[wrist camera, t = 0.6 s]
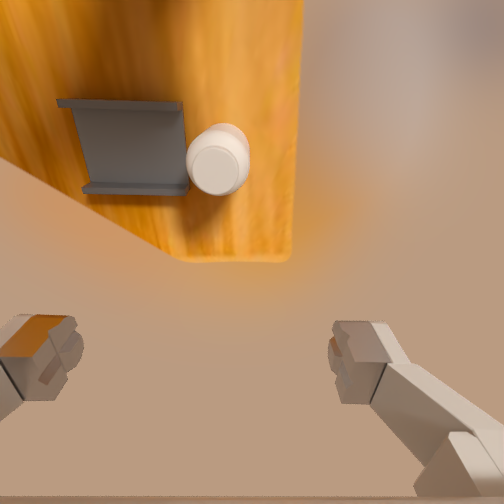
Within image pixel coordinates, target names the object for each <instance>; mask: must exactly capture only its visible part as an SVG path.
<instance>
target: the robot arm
mask: <svg viewBox="0 0 504 504" xmlns="http://www.w3.org/2000/svg"><path fill="white" fill-rule="evenodd" d="M76 327H77V323H76V321H75V318H74V317H72V316H63V315H40V314H39V315H38V314H37V315H31V314H19V315H17V316H14V317H13V318H12V319H11V320H9V321H8V322H7V323H6V324H5V325H4V326H3V327H2V328H1V329H0V421H1V420H3V419H4V418H5V417H6V416H7V415H9V414H10V413H11V412H12V411H14V410H15V409H16V408H18V407H19V406H20V405H21V404H22V403H23V401H49V400H50V401H51V400H52V401H53V400H55V399H56V397H57V396H58V394H59V393H60V391H61V389H62V388H63V386H64V384H65V383H66V382H67V380H68V378H67V372H69V371H70V370H72V369H73V368H75V367H76V366H77V364H78V362H79V361H80V359H81V356H82V353H83V349H84V345H83V339H82V336H81V335H80V334H79V333H77V332H76V331H75V328H76ZM332 331H333V334H334V337H332V338H331V339H330V340H329V346H328V359H329V364H330V367H331V370H332V371H333V372H334V373H335V374H336V375H337V378H336V381H335V384H336V387H337V390H338V394H339V397H340V400H341V403H343V404H369V405H370V407H371V408H372V409H373V410H374V411H375V412H376V413H377V415H378V416H379V417H380V418H381V419H382V420H383V421H384V422H385V423H386V424H387V426H388V427H389V428H390V429H391V430H392V431H393V432H394V433H395V435H396V436H397V437H398V438H399V439H400V440H401V441H402V442H403V443H404V445H405V446H406V447H407V448H408V449H409V450H410V451H411V452H412V453H413V455H414V456H415V457H416V458H417V459H418V460H419V461H420V462H421V463H422V465H423V466H425V468H424V469H423V471H422V472H421V474H420V475H419V477H418V478H417V479H416V481H415V483H414V486H413V487H414V489H415V491H416V494H417V496H418V497H219V496H218V497H217V496H216V497H211V496H210V497H209V496H207V497H206V496H201V497H200V496H199V497H198V496H196V497H195V496H193V497H192V496H191V497H190V496H187V497H186V496H185V497H184V496H180V497H175V496H169V497H168V496H167V497H166V496H165V497H163V496H161V497H160V496H151V497H150V496H143V497H142V496H138V497H137V496H127V497H126V496H120V497H119V496H116V497H115V496H101V497H100V496H0V504H504V426H503V425H502V424H501V423H499V422H498V421H497V420H495V419H494V418H492V417H491V416H489V415H488V414H487V413H485V412H484V411H482V410H481V409H480V408H478V407H477V406H475V405H474V404H472V403H471V402H470V401H468V400H467V399H465V398H464V397H463V396H461V395H460V394H458V393H457V392H455V391H454V390H453V389H451V388H450V387H448V386H447V385H446V384H444V383H443V382H441V381H440V380H439V379H437V378H436V377H434V376H433V375H431V374H430V373H429V372H427V371H426V370H424V369H423V368H422V367H420V366H419V365H417V364H411V362H410V361H409V359H408V357H407V356H406V354H405V353H404V351H403V349H402V348H401V346H400V344H399V343H398V341H397V339H396V338H395V336H394V335H393V333H392V331H391V330H390V328H389V327H388V325H387V324H386V323H385V322H384V321H335V323H334V324H333V329H332Z"/></svg>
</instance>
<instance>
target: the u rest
mask: <svg viewBox="0 0 504 504" xmlns="http://www.w3.org/2000/svg"><path fill="white" fill-rule="evenodd" d="M56 100H57V104H58V107H59V108H71V109H72V113H73V117H74V121H75V124H76V128H77V132H78V136H79V139H80V143H81V147H82V151H83V154H84V158H85V162H86V166H87V170H88V173H89V177H90V181H91V182H90V183H88V184H86V185H85V186H83V187H81V188H82V192H83V194H120V195H167V196H186V195H187V193H188V191H189V190H190V185H189V174H188V172H187V168H186V155H187V150H186V139H185V127H184V116H183V104H182V102H172V101H138V100H104V99H56Z"/></svg>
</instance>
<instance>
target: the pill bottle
mask: <svg viewBox="0 0 504 504" xmlns="http://www.w3.org/2000/svg"><path fill="white" fill-rule="evenodd" d="M249 167H250V148H249V143H248V140H247V138H246V136H245V135H244V134H243V132H242V131H241V130H240V129H238V128H237V127H235V126H233V125H231V124H227V123H219V124H215V125H213V126H211V127H209V128H208V129H206V130H205V131H204V132H203V133H201V134H200V135H199V136H197V137H196V138H195V139H194V140H193V142H192V143H191V145H190V146H189V148H188V151H187V155H186V168H187V172H188V174H189V177H190V178H191V180H192V182H193V183H194V184H195V185H196V186H197V187H198V188H199V189H200V190H202V191H203V192H205V193H208V194H210V195H215V196H223V195H228V194H231V193H233V192H235V191H236V190H238V189H239V188H240V187H241V186H242V185H243V184H244V182H245V181H246V179H247V176H248V173H249Z"/></svg>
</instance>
